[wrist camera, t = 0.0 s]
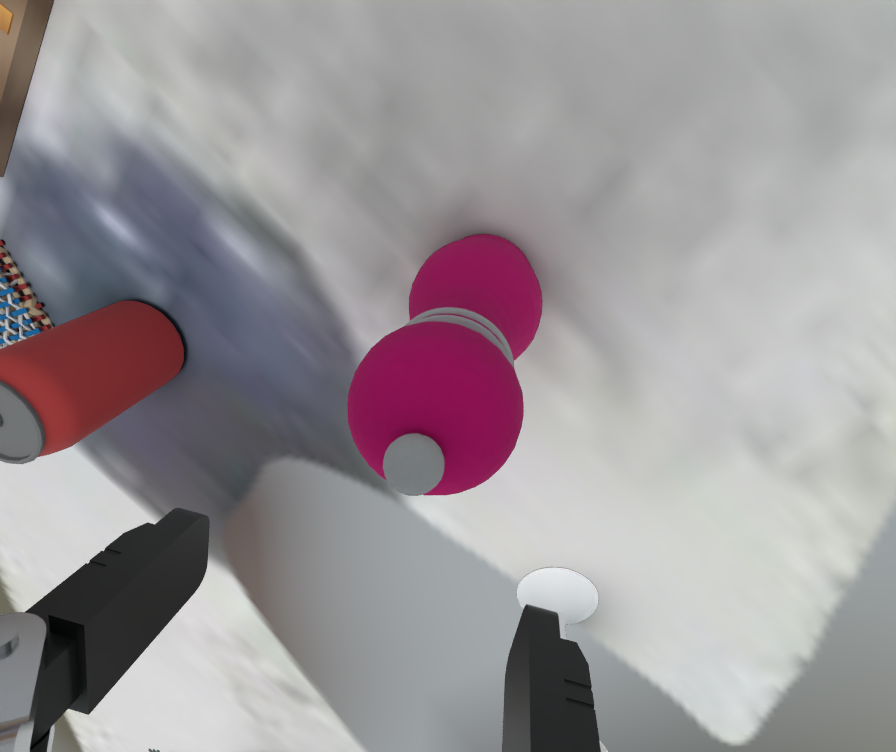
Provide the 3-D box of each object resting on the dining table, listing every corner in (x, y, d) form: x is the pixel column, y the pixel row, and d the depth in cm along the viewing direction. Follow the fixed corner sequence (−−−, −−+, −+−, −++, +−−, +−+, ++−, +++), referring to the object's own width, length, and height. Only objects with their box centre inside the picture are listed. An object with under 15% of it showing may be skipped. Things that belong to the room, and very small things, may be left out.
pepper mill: (406, 256, 31) (230, 418, 14) (512, 203, 29) (465, 315, 11) (458, 354, 34) (364, 601, 16) (560, 312, 31) (583, 548, 14)
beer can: (110, 282, 36) (-72, 345, 25) (195, 322, 36) (50, 401, 25) (103, 356, 39) (-62, 441, 28) (182, 393, 39) (47, 490, 28)
